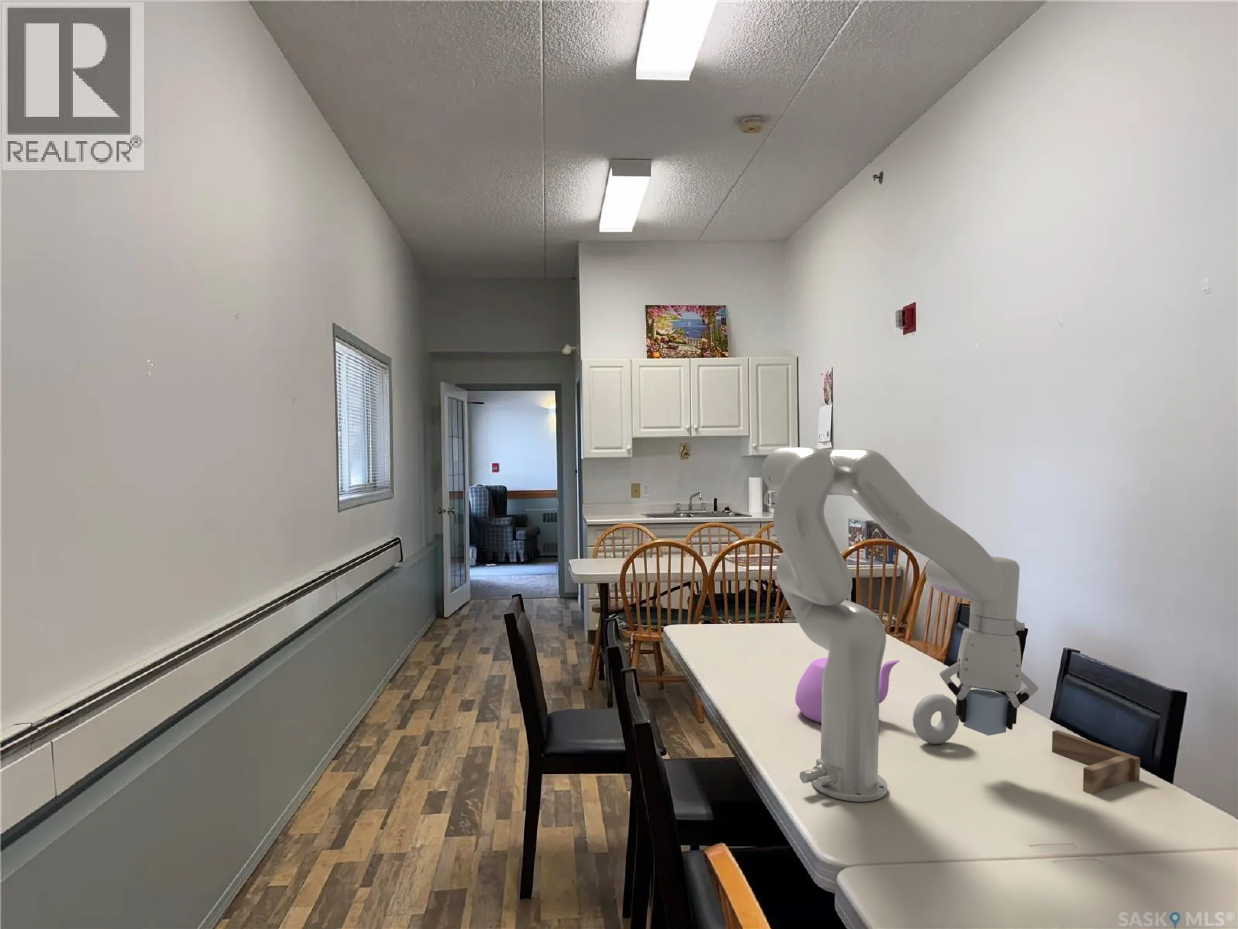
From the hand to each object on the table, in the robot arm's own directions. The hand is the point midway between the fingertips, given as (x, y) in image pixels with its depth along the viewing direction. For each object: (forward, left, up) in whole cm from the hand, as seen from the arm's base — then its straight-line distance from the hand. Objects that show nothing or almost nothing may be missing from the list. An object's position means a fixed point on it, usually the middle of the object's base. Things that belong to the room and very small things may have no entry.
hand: (985, 723), depth 137 cm
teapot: (-1, +33, -10) cm, 34 cm away
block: (0, 0, -1) cm, 1 cm away
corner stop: (+16, -7, -9) cm, 20 cm away
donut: (+4, +14, -9) cm, 17 cm away
